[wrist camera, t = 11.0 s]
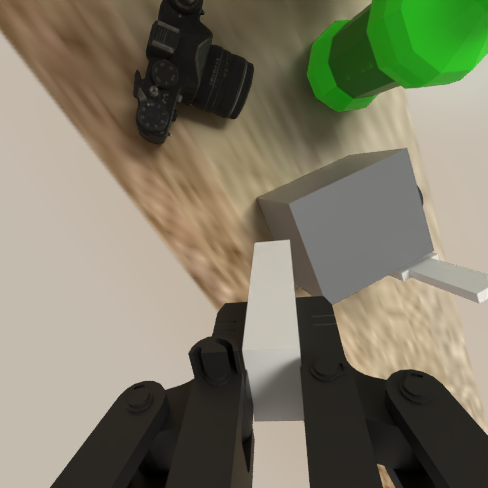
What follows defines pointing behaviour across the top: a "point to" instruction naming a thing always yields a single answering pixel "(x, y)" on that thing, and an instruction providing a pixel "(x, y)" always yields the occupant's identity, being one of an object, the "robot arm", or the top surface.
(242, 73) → the camera
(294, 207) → the housing
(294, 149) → the top surface
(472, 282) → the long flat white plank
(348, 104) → the plastic bottle
